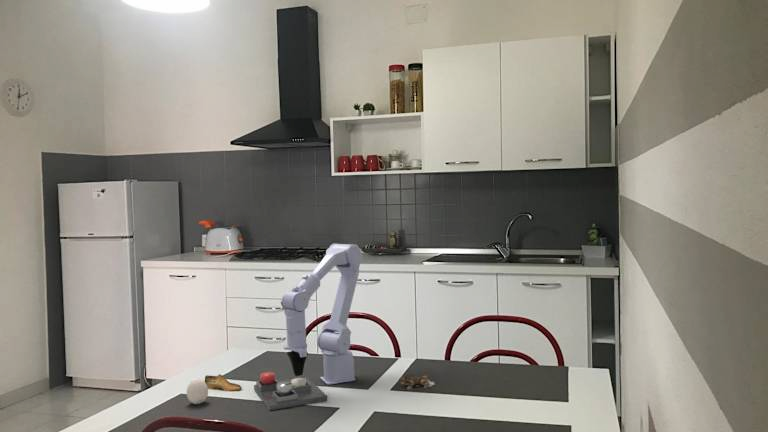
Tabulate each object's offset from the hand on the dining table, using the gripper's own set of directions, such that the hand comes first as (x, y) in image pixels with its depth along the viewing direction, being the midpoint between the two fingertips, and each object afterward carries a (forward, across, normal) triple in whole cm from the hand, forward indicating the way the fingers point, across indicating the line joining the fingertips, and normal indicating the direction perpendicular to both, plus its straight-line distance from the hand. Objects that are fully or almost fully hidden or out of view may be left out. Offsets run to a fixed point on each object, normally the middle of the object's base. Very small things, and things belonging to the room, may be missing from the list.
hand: (298, 375), depth 198 cm
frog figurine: (+6, +10, +35) cm, 37 cm away
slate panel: (+6, 0, -3) cm, 6 cm away
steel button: (+2, +7, -6) cm, 9 cm away
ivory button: (+4, 0, 0) cm, 4 cm away
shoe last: (+6, -17, -20) cm, 27 cm away
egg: (+6, -6, -29) cm, 30 cm away
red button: (+3, -6, -8) cm, 10 cm away
